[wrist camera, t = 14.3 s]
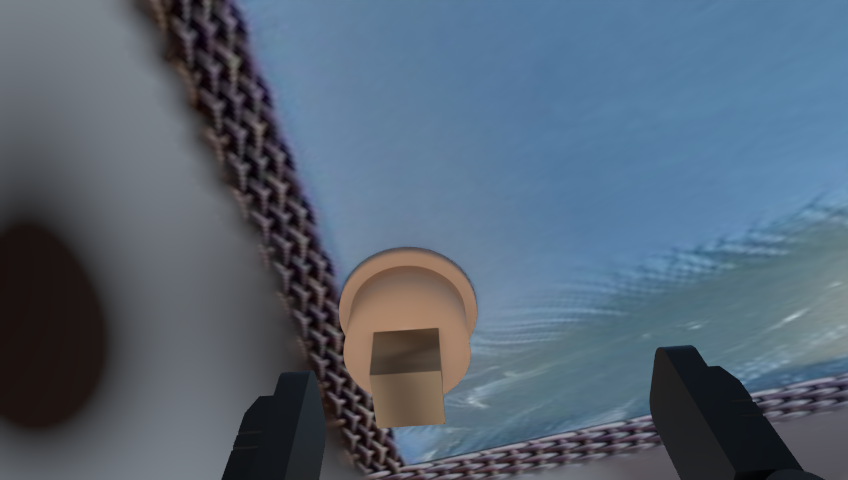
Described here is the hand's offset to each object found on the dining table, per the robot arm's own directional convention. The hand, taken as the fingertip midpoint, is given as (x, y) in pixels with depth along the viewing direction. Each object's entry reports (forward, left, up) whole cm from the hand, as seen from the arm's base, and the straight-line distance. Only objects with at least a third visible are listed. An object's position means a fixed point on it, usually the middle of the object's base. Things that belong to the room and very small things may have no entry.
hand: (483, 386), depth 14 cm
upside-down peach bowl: (+4, +20, -33) cm, 39 cm away
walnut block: (+4, +20, -26) cm, 33 cm away
